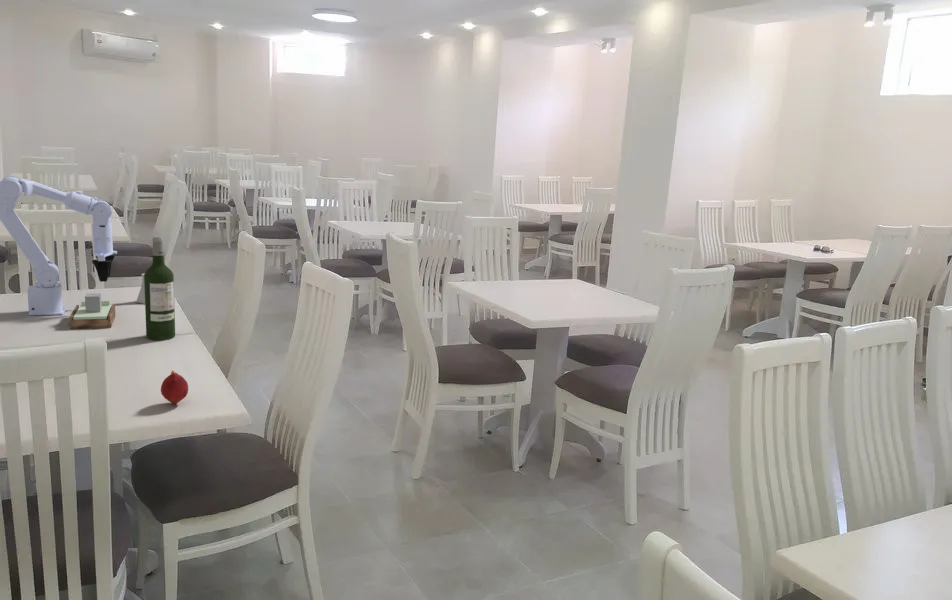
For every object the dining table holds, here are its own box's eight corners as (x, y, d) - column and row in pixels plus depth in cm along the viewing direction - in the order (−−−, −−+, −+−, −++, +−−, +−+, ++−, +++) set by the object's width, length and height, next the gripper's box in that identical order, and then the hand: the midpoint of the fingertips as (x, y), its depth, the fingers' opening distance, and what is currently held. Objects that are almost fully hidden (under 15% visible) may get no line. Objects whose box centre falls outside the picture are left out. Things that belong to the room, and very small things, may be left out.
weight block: (85, 312, 226) (84, 296, 225) (87, 309, 230) (86, 293, 229) (100, 312, 228) (99, 296, 227) (101, 308, 232) (101, 293, 231)
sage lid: (73, 319, 221) (73, 312, 220) (80, 307, 234) (79, 300, 234) (106, 318, 224) (106, 311, 223) (111, 307, 237) (111, 300, 237)
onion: (193, 400, 171) (192, 367, 170) (181, 409, 166) (180, 375, 164) (168, 398, 172) (167, 365, 170) (156, 407, 166) (155, 373, 164)
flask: (153, 305, 255) (152, 276, 253) (132, 303, 255) (131, 275, 253) (162, 300, 262) (161, 272, 260) (141, 299, 262) (140, 271, 260)
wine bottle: (157, 342, 213) (153, 239, 207) (140, 336, 217) (136, 236, 211) (180, 336, 220) (178, 237, 213) (164, 331, 224) (161, 233, 217)
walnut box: (70, 328, 221) (69, 316, 220) (77, 316, 235) (76, 304, 234) (110, 327, 225) (110, 315, 224) (115, 315, 238) (115, 304, 238)
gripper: (114, 241, 234) (116, 283, 237) (118, 234, 248) (120, 274, 251) (89, 241, 232) (91, 283, 235) (94, 234, 245) (96, 274, 248)
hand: (104, 278), depth 243 cm, fingers open, 7 cm apart
